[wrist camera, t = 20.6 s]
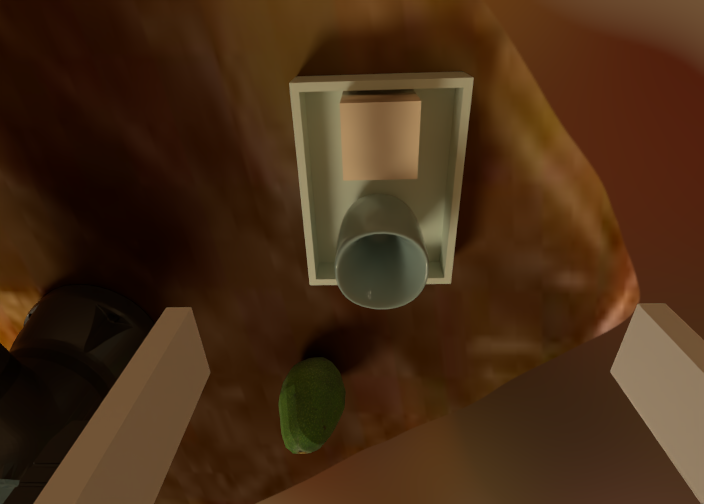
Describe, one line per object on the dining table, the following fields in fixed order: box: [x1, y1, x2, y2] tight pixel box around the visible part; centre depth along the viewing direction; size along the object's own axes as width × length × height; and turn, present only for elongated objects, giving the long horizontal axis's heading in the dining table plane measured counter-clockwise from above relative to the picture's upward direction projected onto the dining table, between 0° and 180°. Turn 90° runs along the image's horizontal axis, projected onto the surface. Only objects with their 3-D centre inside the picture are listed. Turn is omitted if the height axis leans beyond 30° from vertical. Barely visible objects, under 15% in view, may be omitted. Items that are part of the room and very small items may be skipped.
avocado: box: [279, 357, 346, 453], centre depth 48 cm, size 8×8×12 cm
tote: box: [289, 71, 474, 285], centre depth 38 cm, size 14×19×4 cm
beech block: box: [340, 89, 421, 181], centre depth 34 cm, size 6×6×6 cm
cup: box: [334, 194, 429, 309], centre depth 37 cm, size 8×8×10 cm
